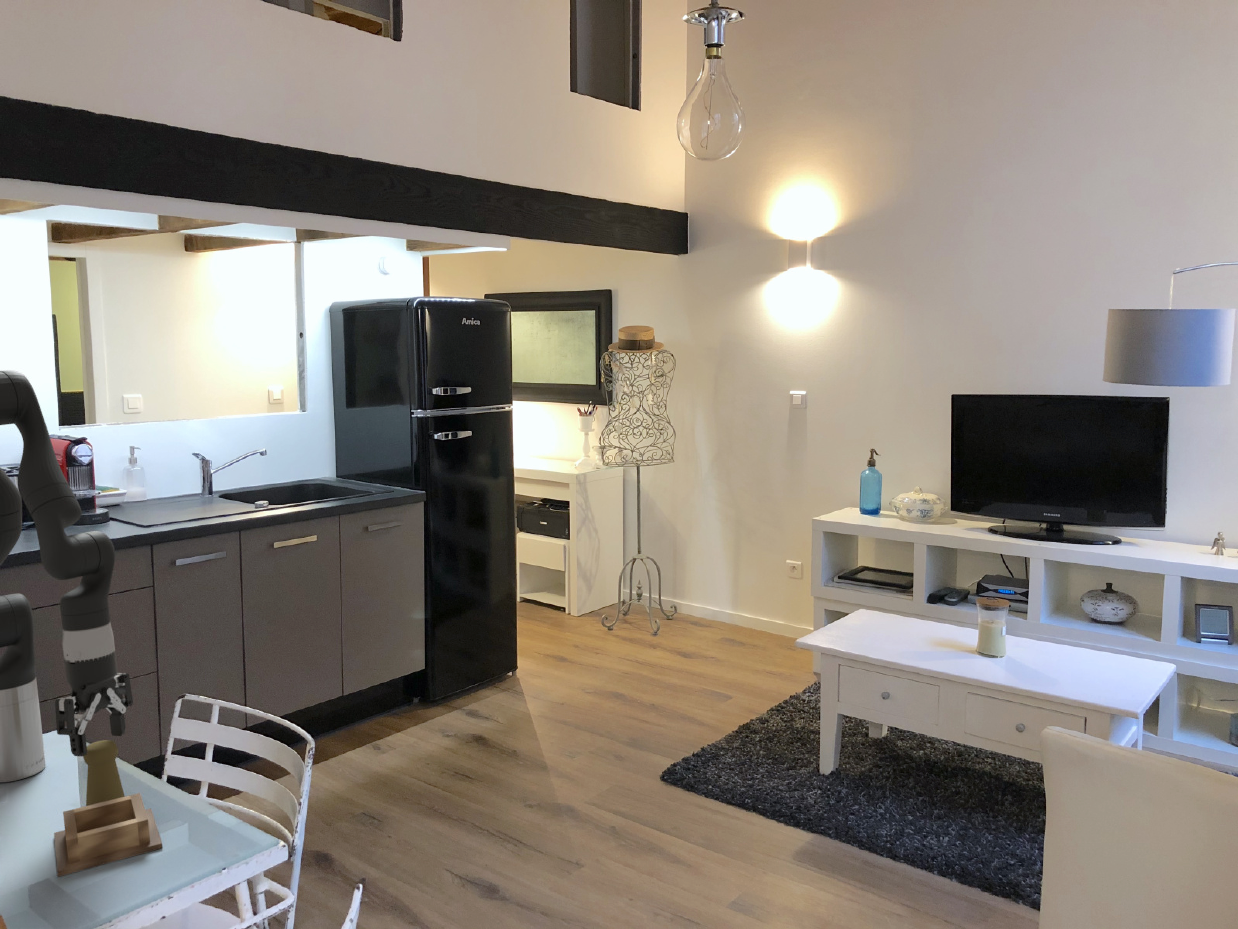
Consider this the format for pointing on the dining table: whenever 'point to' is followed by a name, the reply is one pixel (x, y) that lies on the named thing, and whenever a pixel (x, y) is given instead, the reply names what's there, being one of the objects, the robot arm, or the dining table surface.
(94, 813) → the shaker caddy
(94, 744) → the cork
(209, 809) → the dining table surface
